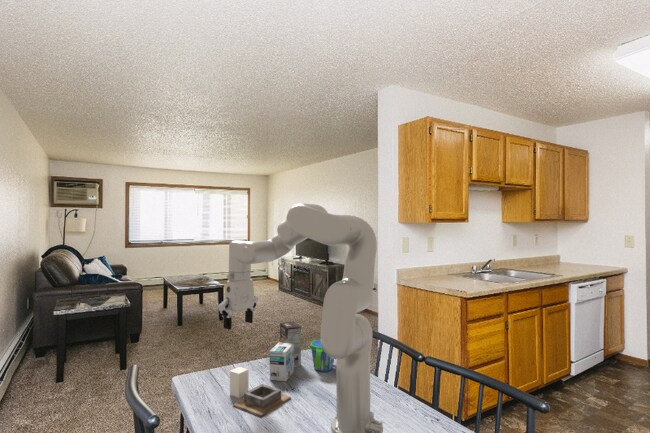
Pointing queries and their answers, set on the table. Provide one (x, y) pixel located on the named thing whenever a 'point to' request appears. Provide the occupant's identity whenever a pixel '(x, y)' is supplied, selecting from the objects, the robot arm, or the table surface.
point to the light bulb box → (281, 361)
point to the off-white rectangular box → (238, 382)
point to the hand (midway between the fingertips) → (238, 325)
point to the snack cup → (320, 357)
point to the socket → (261, 400)
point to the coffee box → (292, 338)
